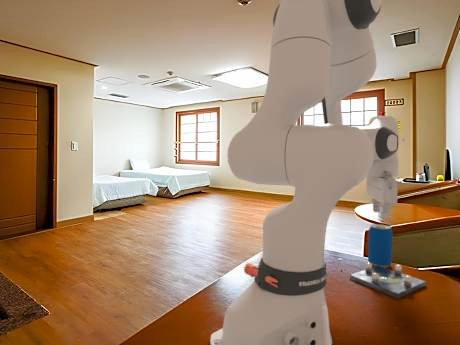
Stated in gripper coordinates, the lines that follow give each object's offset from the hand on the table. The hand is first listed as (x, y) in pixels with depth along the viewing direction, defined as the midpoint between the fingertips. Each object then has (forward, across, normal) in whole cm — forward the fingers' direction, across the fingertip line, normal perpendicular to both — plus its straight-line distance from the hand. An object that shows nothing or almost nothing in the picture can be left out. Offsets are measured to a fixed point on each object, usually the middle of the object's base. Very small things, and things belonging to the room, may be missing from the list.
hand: (380, 215), depth 92 cm
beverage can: (+16, -1, 0) cm, 16 cm away
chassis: (+15, -15, +2) cm, 21 cm away
